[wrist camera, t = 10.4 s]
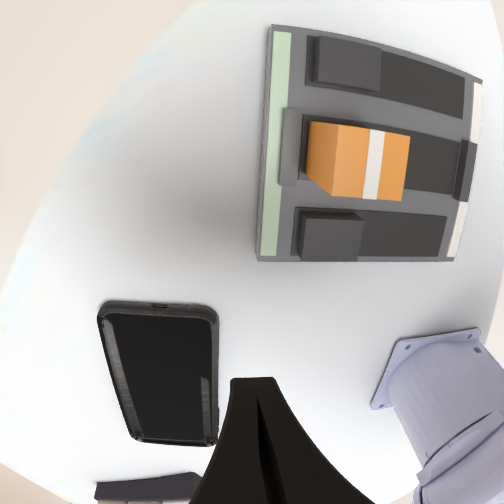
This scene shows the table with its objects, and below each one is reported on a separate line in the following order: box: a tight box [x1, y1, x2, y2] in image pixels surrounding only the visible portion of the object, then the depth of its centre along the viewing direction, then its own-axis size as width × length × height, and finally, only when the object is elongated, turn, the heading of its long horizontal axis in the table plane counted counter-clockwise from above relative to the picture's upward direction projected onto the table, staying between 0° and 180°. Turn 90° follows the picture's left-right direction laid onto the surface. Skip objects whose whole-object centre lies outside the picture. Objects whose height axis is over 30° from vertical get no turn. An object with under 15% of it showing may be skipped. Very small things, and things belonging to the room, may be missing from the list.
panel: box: [256, 24, 483, 262], centre depth 15 cm, size 13×12×2 cm
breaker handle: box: [305, 121, 410, 201], centre depth 13 cm, size 3×3×4 cm
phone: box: [97, 301, 219, 447], centre depth 22 cm, size 8×1×15 cm
